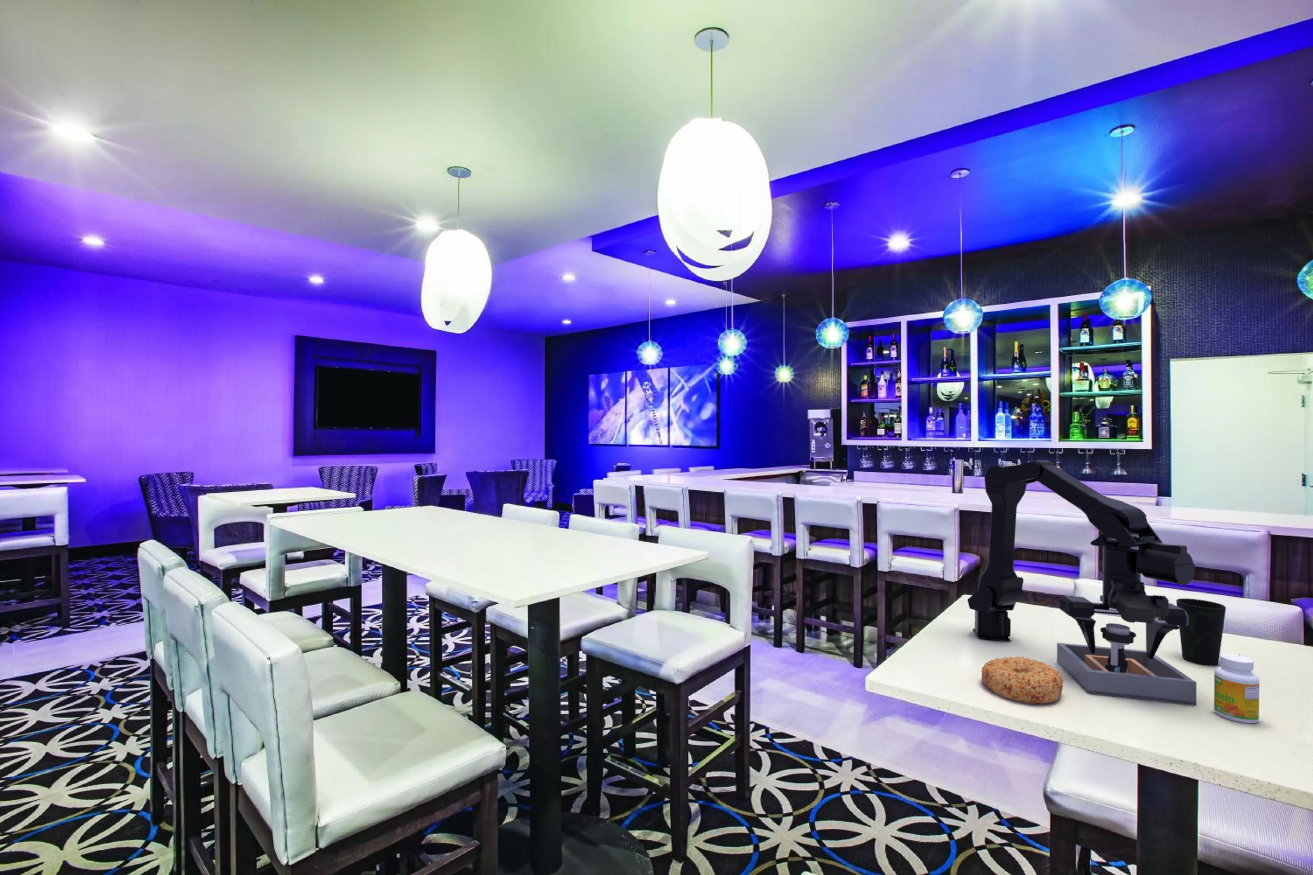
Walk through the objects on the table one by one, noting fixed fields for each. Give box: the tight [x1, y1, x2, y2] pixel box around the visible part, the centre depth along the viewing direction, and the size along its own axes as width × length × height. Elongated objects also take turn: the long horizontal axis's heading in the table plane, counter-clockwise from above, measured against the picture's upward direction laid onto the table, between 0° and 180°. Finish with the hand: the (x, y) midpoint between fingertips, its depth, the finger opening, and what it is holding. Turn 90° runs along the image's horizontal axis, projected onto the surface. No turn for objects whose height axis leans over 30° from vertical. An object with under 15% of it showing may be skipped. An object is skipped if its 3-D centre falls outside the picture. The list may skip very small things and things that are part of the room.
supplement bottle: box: [1213, 653, 1260, 724], centre depth 100 cm, size 5×5×10 cm
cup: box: [1175, 597, 1227, 667], centre depth 125 cm, size 8×8×12 cm
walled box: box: [1056, 642, 1197, 706], centre depth 114 cm, size 16×16×4 cm
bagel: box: [981, 656, 1064, 705], centre depth 110 cm, size 13×14×5 cm
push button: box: [1099, 622, 1137, 673], centre depth 114 cm, size 7×5×10 cm
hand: (1120, 655), depth 114 cm, fingers open, 9 cm apart
